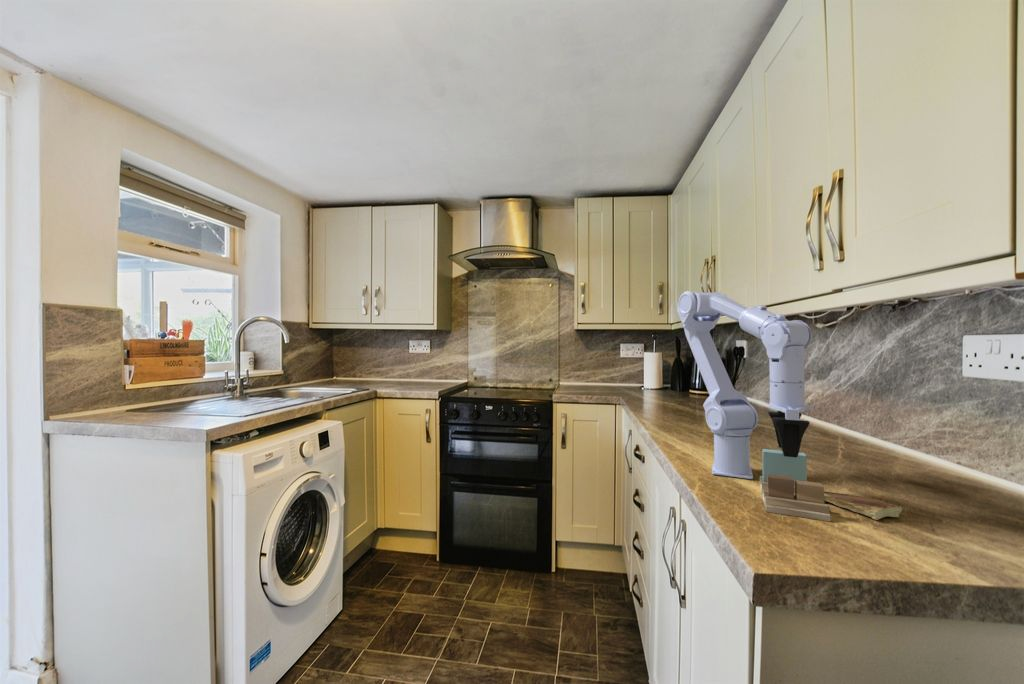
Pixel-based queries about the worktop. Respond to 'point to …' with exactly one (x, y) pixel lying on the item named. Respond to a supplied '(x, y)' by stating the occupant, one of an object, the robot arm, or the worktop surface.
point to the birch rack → (794, 506)
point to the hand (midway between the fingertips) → (787, 451)
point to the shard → (863, 505)
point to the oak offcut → (809, 492)
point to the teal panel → (784, 465)
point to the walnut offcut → (780, 486)
